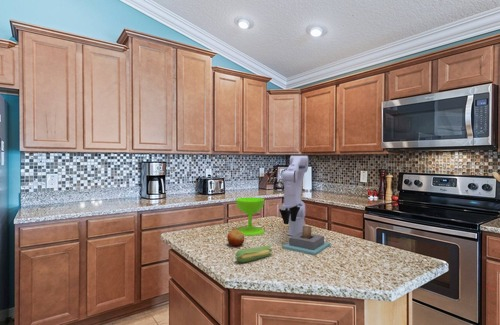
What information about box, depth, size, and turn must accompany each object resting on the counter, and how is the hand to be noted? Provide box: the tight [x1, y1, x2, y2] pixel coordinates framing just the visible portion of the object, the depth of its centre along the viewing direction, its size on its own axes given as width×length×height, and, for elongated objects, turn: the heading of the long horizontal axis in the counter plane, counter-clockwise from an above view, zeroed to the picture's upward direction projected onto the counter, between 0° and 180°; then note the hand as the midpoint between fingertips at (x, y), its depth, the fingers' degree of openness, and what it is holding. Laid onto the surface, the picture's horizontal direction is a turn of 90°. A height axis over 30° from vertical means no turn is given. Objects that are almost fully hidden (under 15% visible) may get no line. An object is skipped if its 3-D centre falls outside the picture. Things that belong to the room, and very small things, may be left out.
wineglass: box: [235, 197, 265, 237], centre depth 160 cm, size 16×16×18 cm
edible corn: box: [234, 244, 273, 264], centre depth 118 cm, size 5×20×5 cm
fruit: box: [226, 229, 245, 248], centre depth 136 cm, size 8×8×8 cm
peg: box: [302, 225, 312, 239], centre depth 133 cm, size 4×4×8 cm
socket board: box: [281, 232, 332, 256], centre depth 133 cm, size 18×16×4 cm
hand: (289, 222), depth 141 cm, fingers open, 7 cm apart
